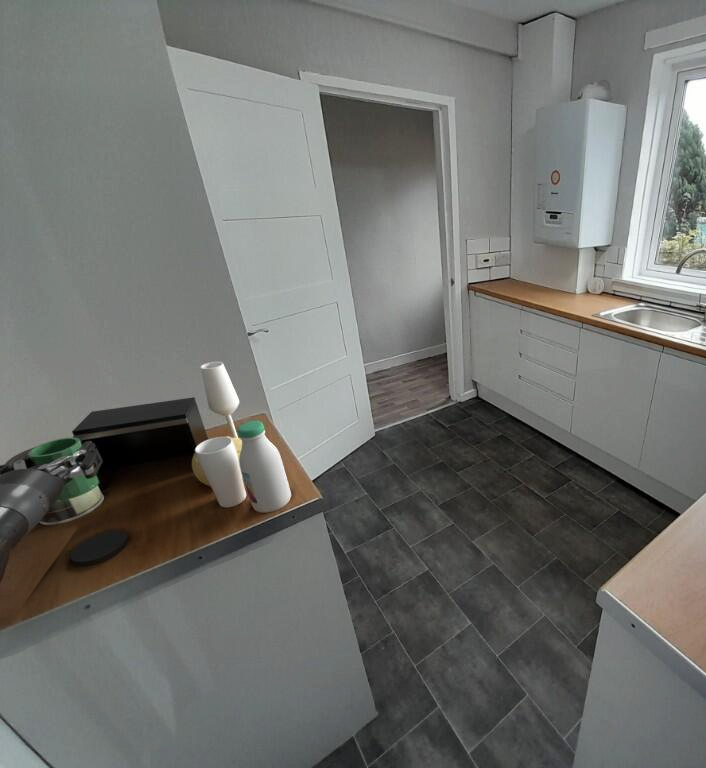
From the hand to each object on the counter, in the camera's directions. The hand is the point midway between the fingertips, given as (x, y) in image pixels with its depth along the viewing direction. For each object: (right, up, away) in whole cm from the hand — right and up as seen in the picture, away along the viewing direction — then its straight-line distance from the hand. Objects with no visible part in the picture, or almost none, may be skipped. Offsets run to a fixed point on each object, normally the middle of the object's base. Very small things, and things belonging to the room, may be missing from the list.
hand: (65, 449), depth 73 cm
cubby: (-8, -10, +29) cm, 32 cm away
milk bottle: (+26, -15, +19) cm, 36 cm away
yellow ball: (+11, -11, +26) cm, 31 cm away
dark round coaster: (+1, -20, +6) cm, 21 cm away
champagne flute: (+4, -5, +40) cm, 40 cm away
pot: (+1, -7, +1) cm, 7 cm away
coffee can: (-16, -15, +16) cm, 27 cm away
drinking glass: (+17, -15, +19) cm, 29 cm away
